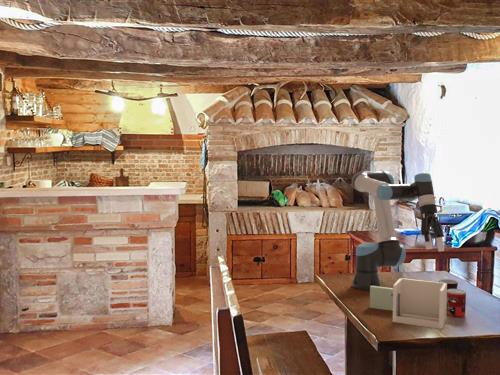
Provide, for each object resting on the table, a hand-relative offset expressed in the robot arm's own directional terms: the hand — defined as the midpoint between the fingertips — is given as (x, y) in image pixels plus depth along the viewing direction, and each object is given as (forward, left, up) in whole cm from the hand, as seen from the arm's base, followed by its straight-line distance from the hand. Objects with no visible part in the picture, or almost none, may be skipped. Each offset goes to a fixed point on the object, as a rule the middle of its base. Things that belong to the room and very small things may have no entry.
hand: (435, 250), depth 240 cm
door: (-21, -10, -28) cm, 36 cm away
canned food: (+10, -5, -28) cm, 30 cm away
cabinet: (-3, -20, -28) cm, 34 cm away
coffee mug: (+4, +17, -28) cm, 33 cm away
